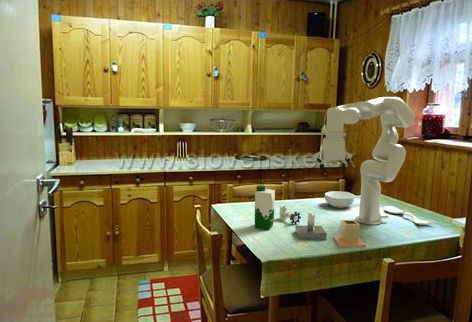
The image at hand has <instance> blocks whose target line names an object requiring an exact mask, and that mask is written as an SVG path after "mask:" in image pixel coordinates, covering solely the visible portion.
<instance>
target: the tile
mask: <svg viewBox="0 0 472 322" xmlns="http://www.w3.org/2000/svg"><path fill="white" fill-rule="evenodd" d="M332 239H333V240H334V241H335V242H336V244H337V245H338V247H339V248H367V245H366V243H365V242H364V241H363V240H362V239H361V238H360V237H359V239H358V243H344V242H343V240H342V239H341V238H340V235H332Z"/></svg>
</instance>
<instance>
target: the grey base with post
mask: <svg viewBox="0 0 472 322" xmlns="http://www.w3.org/2000/svg"><path fill="white" fill-rule="evenodd" d="M315 219H316V214H315V213H313V212H312V213H310V212H309V213H307V225H294V228H295V231H294V233H295V234H296V236H297V238H298V240H310V241H311V240H314V241H315V240H319V241H320V240H322V241H323V240H324V241H326V240H327V236H328V235H327V232H326V230H325V229H324V228H323V226H322V225H315V221H316V220H315Z"/></svg>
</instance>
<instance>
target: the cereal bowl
mask: <svg viewBox="0 0 472 322" xmlns="http://www.w3.org/2000/svg"><path fill="white" fill-rule="evenodd" d="M324 199H325V201H326V203H327V204H329V205H330V206H332V207H333V208H336V207H337V208H338V209H343V208H344V209H345V208H346V207H349V206H352V205H353V203H354V201H355V194H353V193H351V192H348V191H338V190H337V191H333V190H332V191H328V192H325V193H324Z"/></svg>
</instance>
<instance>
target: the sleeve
mask: <svg viewBox="0 0 472 322" xmlns="http://www.w3.org/2000/svg"><path fill="white" fill-rule="evenodd" d="M359 235H360V223H359V222H358V221H356V219H355V220H354V219H353V220H352V219H341V220H340V234H339V236H340V238H341V239H342V240H343V242H344V243H358V239H359V238H360V237H359Z"/></svg>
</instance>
